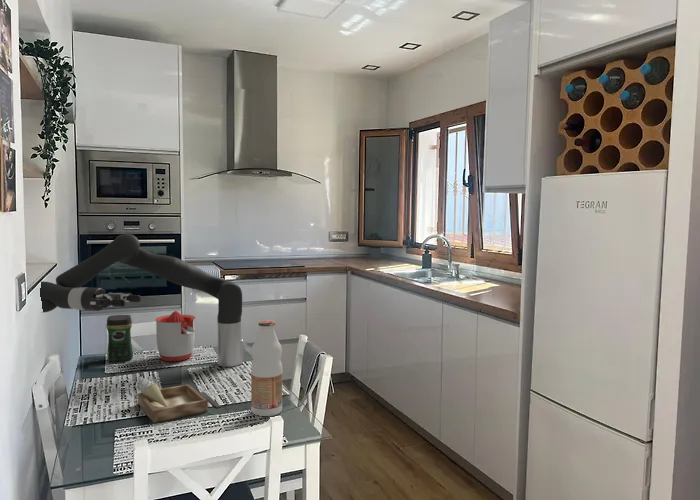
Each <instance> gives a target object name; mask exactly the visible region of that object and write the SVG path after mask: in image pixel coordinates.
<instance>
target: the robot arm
mask: <svg viewBox="0 0 700 500" xmlns="http://www.w3.org/2000/svg"><path fill="white" fill-rule="evenodd" d="M140 245H141V244H140V240H139V239H138V238H137V237H136V236H135V235H134V234H131V233H122V234H119V235H118V236H117V237H115V238H114V240H113V239H112V241H111V242H110V243H109V244H107V245H106V246H104V247H103V248H102V249H101V250H99V251H98V252H95V254H93V255H92V256H90V257H89V258H87V259H85V260H83V261H81V262H80V263H77V264H76V265H74V266H72V267H70V268H68V269H67V270H65V271H64V272H63V273H60V274H58V275H57V276H56V277H55V283H53V282H51V281H50V282H49V281H44V280H43V281H40V282H41V288H40V297H41V301H42V309H43V312H42V313H49V312H51V311H53V310H55V309H56V308H57V307H58V308H59V309H63V310H64V309H67V310H79V311H89V312H90V311H93V312H96V311H97V312H99V311H102V310H103V309H106V308H112V307H122V308H123V307H126V303H131V302H132V303H140V302H141V300H142V299H141V298H142V297H141V295H139V294H133V293H132V292H114V293H113V292H106V289H103V288H102V287H88V286H86V287H85V286H84V285H86V284H87V283H89V282H90V281H91V280H93V279H94V278H95V277H97V276H98V275H99V274H101V273H102V272H103V271H104V270H106V269H107V268H108V267H110V266H112V265H114V264H116V263H117V262H118V263H120V264H123V265H127V266H131V267H133V268H137V269H140V270H143V271H146V272H148V273H150V274H153V275H154V276H157V277H159V278H162V279H164V280H167V282H171V283H172V284H176V285H179V286H181V287H184V288H189V289H192V290H196V291H200V292H203V293H205V294H208V295H210V296H212V297H214V298H215V299H217V300H218V308H217V311H218V312H217V316H216V317H217V319H216V320H217V366H219V367H224V368H226V367H227V368H231V367H237V366H239V365H242V364H244V340H243V339H242V315H243V291H242V289H241V287H240V285H239V284H237V283H235V282H234V281H232V280H228V279H224V278H220V277H218V276H215V275H212V274H210V273H208V272H207V271H204V270H202V269H201V268H200V267H197V266H196V265H194V264H192V263H190V262H187V261H185V260H183V259H181V258H178V257H174V256H170V255H163V254H157V253H153V252H150V251H147V250H146V249H143V248H141V246H140ZM83 286H84V287H83Z"/></svg>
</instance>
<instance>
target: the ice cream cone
mask: <svg viewBox="0 0 700 500" xmlns="http://www.w3.org/2000/svg"><path fill="white" fill-rule="evenodd" d="M137 381H138V384H139V390H140V393H143V395H144V396H146V397H148V398H150V399H152V400H153V401H155V402H157V403H159V404H161V405H163V406H165V407H167V404H166V402H165V400H164V398H163V396H162V394H161V392H160V389H161V388H160V387H159V385H158V383H157V382H154V380H153V379H152V380H151V379H147V378H146V377H141V376H138V375H137Z"/></svg>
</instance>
